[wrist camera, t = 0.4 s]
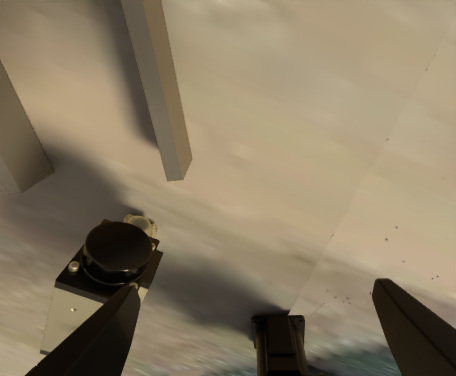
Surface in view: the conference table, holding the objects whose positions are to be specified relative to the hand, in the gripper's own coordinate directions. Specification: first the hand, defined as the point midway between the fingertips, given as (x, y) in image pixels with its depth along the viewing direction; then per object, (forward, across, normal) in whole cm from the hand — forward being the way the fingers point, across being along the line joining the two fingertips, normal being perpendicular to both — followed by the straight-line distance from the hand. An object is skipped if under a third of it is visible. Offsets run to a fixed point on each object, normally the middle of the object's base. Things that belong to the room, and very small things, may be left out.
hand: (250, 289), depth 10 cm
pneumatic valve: (+14, +12, +8) cm, 20 cm away
